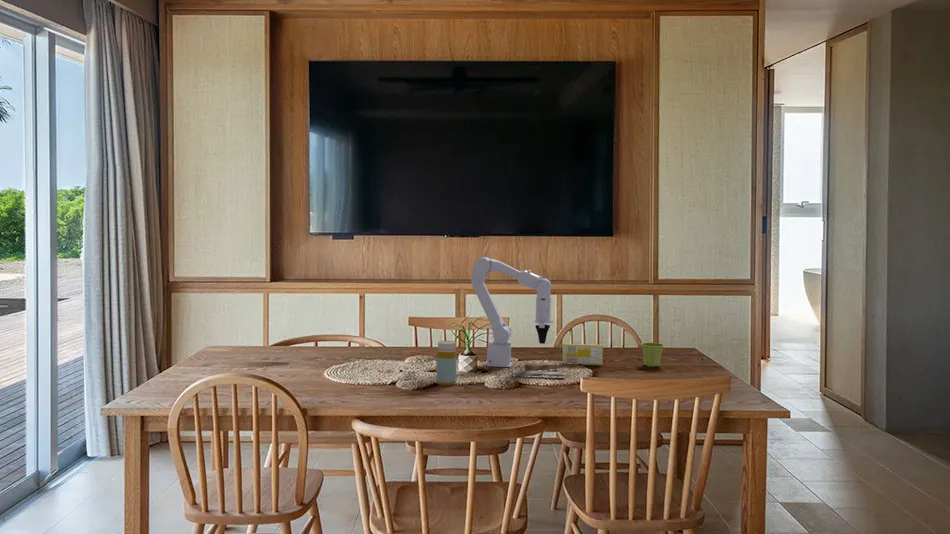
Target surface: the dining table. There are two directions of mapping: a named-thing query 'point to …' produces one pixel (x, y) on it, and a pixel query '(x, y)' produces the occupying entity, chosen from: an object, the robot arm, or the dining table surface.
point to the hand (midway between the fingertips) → (542, 343)
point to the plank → (540, 366)
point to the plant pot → (652, 353)
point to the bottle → (446, 363)
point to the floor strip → (537, 373)
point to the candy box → (583, 354)
